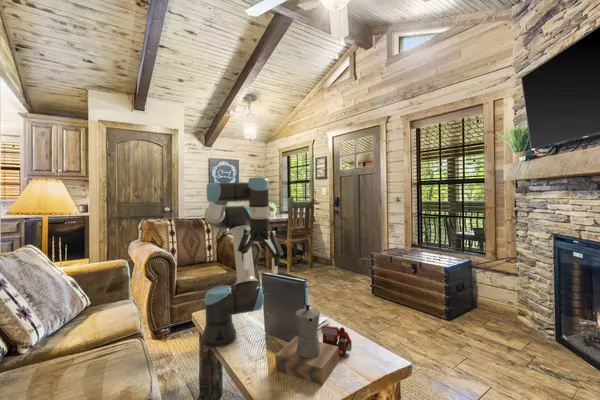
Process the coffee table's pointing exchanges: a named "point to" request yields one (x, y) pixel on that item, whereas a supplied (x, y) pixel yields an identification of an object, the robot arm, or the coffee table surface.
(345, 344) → the toy fire truck
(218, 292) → the robot arm
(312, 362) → the brown wooden block
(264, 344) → the coffee table surface
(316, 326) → the coffeepot
